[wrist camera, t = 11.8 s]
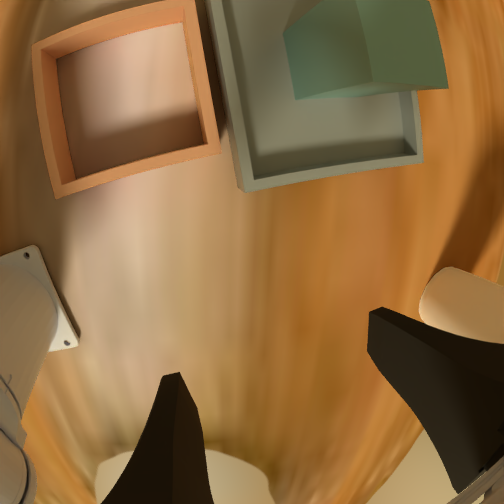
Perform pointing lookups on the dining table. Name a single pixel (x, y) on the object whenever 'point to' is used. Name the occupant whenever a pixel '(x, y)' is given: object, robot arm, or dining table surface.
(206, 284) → the dining table surface
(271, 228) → the dining table surface
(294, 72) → the teal block
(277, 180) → the slate tray
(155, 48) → the dining table surface
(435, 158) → the dining table surface
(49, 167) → the orange square frame
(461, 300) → the foam cup
